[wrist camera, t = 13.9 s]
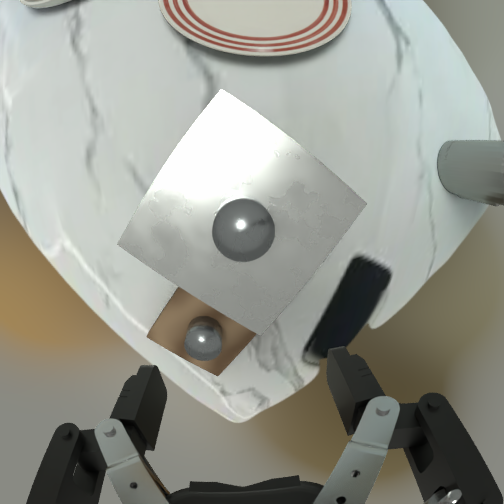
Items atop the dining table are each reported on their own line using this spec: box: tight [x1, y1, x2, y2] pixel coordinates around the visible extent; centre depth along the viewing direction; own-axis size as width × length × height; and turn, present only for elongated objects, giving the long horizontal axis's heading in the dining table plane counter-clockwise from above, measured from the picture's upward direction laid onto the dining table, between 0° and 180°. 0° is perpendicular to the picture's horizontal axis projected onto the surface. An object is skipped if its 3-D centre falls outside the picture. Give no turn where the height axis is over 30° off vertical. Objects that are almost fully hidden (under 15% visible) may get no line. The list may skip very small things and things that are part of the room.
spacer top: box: [184, 316, 222, 361], centre depth 37 cm, size 5×5×4 cm
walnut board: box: [147, 287, 256, 376], centre depth 39 cm, size 13×13×2 cm
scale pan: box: [117, 89, 367, 336], centre depth 27 cm, size 18×18×3 cm
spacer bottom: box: [212, 195, 275, 262], centre depth 24 cm, size 5×5×4 cm
